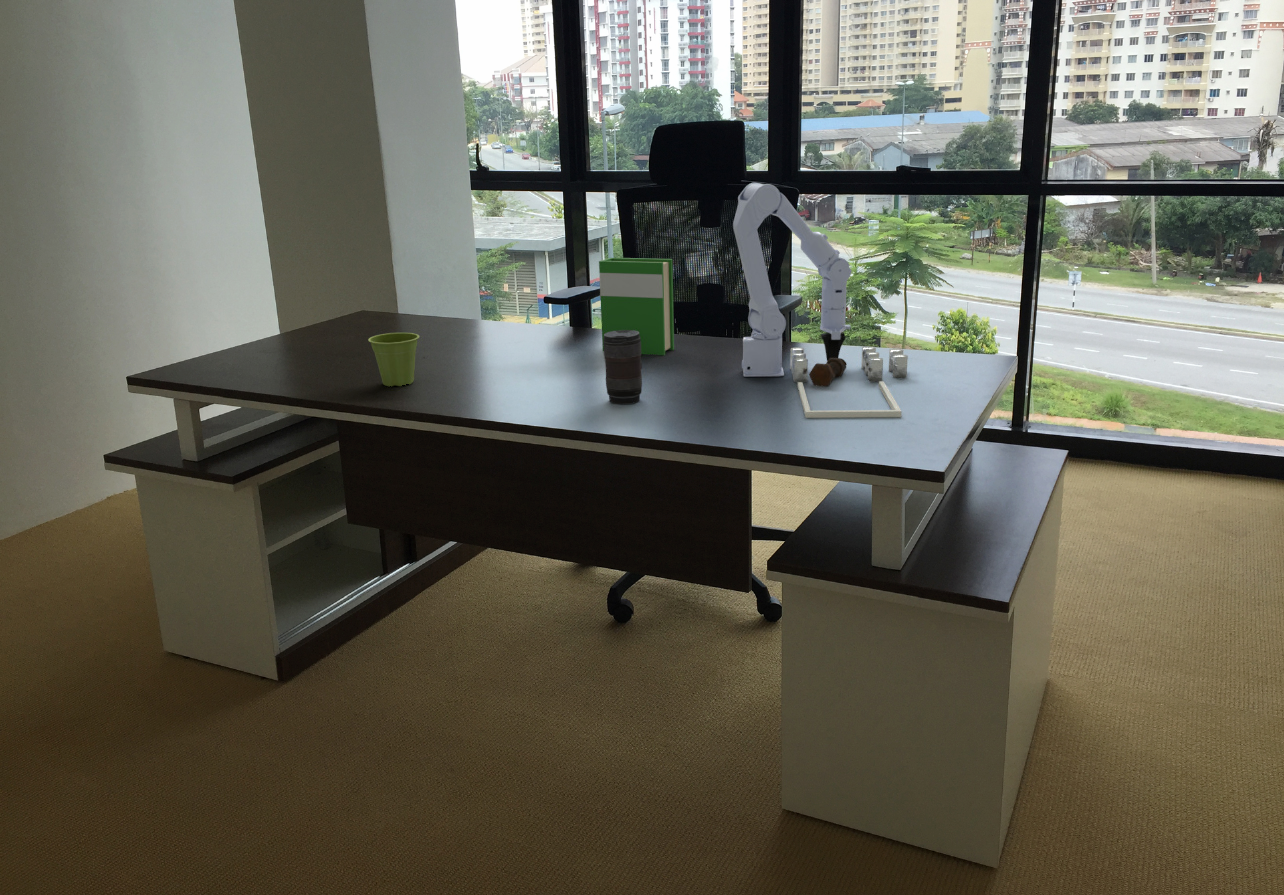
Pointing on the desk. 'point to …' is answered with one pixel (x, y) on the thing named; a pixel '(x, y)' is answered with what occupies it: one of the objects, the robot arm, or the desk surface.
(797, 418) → the desk surface
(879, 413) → the tray rim
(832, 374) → the bolt
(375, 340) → the plant pot
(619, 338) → the camera lens
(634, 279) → the hardback book
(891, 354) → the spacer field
